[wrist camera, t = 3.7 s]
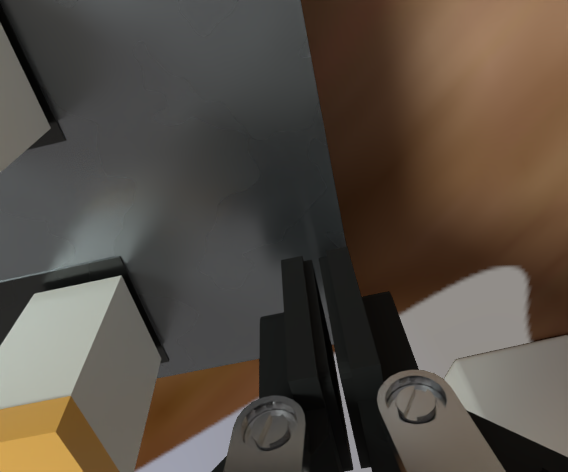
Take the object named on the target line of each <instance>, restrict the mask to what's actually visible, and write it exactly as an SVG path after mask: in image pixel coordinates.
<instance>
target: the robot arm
mask: <svg viewBox="0 0 568 472" xmlns="http://www.w3.org/2000/svg"><path fill="white" fill-rule="evenodd" d="M326 254H327V256H326V257H321V258H319V264H320V270H321V275H322V281H323V286H324V292H325V297H326V303H327V308H328V314H329V319H330V325H331V330H332V336H333V341H334V347H335V353H336V357H337V363H338V368H339V373H340V378H341V383H342V387H343V391H344V396H345V400H346V404H347V409H348V413H349V417H350V422H351V426H352V430H353V435H354V439H355V443H356V448H357V452H358V456H359V461H360V465H361V468H367V467H371V468H372V472H568V457H567V456H564V455H562V454H560V453H558V452H556V451H554V450H551V449H549V448H547V447H545V446H543V445H541V444H539V443H536V442H534V441H532V440H530V439H528V438H526V437H523V436H521V435H519V434H517V433H515V432H513V431H510V430H508V429H506V428H504V427H502V426H500V425H498V424H495V423H493V422H491V421H489V420H487V419H485V418H482V417H480V416H478V415H476V414H474V413H472V412H469V411H467V410H466V409H465V408H464V406H463V405H462V403H461V401H460V400H459V398H458V397H457V395H456V394H455V392H454V391H453V389H452V388H451V386H450V385H449V384H448V383H447V382H446V381H445V380H444V379H443V378H441V377H439V376H438V375H436V374H434V373H430V372H427V371H424V370H419V369H418V366H417V363H416V361H415V358H414V355H413V353H412V350H411V347H410V345H409V342H408V339H407V336H406V334H405V331H404V328H403V326H402V323H401V320H400V317H399V315H398V312H397V309H396V307H395V304H394V301H393V298H392V296H391V294H390V292H389V291H388V292H383V293H378V294H373V295H368V296H363V297H361V294H360V290H359V287H358V283H357V280H356V276H355V273H354V269H353V266H352V262H351V258H350V255H349V251H348V248H347V246H346V247H341V248H336V249H332V250H327V251H326ZM281 272H282V288H283V305H284V312H283V313H278V314H273V315H268V316H263V317H261V318H260V358H259V399H258V400H256V401H254V402H252V403H251V404H249V405H248V406H247V407H246V408H244V409H243V411H242V412H241V413H240V415H239V416H238V417H237V420H236V422H235V424H234V427H233V431H232V436H231V440H230V445H229V449H228V453H227V456H226V457H225V458H224V459H223V460H222V461H221V462H220V463H219V465H217V467H215V469H214V470H213V471H212V472H344V471H350V470H353V464H352V459H351V453H350V447H349V441H348V436H347V430H346V424H345V418H344V413H343V407H342V401H341V396H340V390H339V384H338V379H337V372H336V367H335V361H334V355H333V350H332V345H331V340H330V336H329V331H328V327H327V323H326V318H325V314H324V310H323V305H322V301H321V297H320V293H319V288H318V284H317V280H316V275H315V271H314V267H313V262H312V260H307V261H304V260H303V256H298V257H293V258H288V259H283V260H281Z"/></svg>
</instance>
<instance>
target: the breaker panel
mask: <svg viewBox="0 0 568 472" xmlns="http://www.w3.org/2000/svg"><path fill="white" fill-rule="evenodd" d="M0 23H1V25H2V27H3V29H4V31H5V33H6V35H7V38H8V40H9V42H10V44H11V46H12V48H13V50H14V52H15V54H16V56H17V58H18V60H19V63H20V65H21V67H22V69H23V71H24V73H25V75H26V77H27V79H28V81H29V83H30V86H31V88H32V90H33V92H34V94H35V96H36V98H37V100H38V102H39V104H40V106H41V108H42V111H43V113H44V115H45V117H46V119H47V121H48V123H49V125H50V127H51V129H50V130H48V131H47V132H46V133H45V134H44V135H43V136H42V137H40V138H39V139H38V140H37V141H36V142H35V143H34V144H32V145H31V146H30V147H29V148H28V149H27V150H26V151H24V152H23V153H22V154H21V155H20V156H19V157H18V158H16V159H15V160H14V161H13V162H12V163H11V164H10V165H8V166H7V167H6V168H5V169H4V170H3V171H2V172H0V345H1V344H2V342H3V341H4V339H5V338H6V336H7V335H8V333H9V332H10V330H11V329H12V327H13V326H14V324H15V322H16V321H17V319H18V318H19V316H20V315H21V313H22V312H23V310H24V309H25V307H26V306H27V304H28V302H29V301H30V299H31V298H32V296H33V295H34V294H35V293H40V292H45V291H50V290H54V289H59V288H64V287H69V286H73V285H78V284H83V283H88V282H92V281H97V280H102V279H107V278H111V277H116V276H121V275H122V277H123V280H124V282H125V284H126V286H127V288H128V290H129V292H130V294H131V296H132V298H133V300H134V302H135V305H136V307H137V309H138V311H139V313H140V315H141V317H142V319H143V321H144V323H145V325H146V328H147V330H148V332H149V334H150V336H151V338H152V340H153V342H154V344H155V346H156V348H157V350H158V353H159V355H160V357H161V362H160V366H159V370H158V374H157V378H161V377H166V376H171V375H176V374H182V373H187V372H192V371H197V370H202V369H208V368H213V367H218V366H223V365H228V364H234V363H239V362H244V361H249V360H254V359H259V358H260V318H261V317H263V316H268V315H273V314H278V313H283V312H284V305H283V288H282V272H281V260H283V259H288V258H293V257H298V256H303V260H304V261H307V260H312V262H313V267H314V271H315V275H316V280H317V284H318V288H319V293H320V297H321V301H322V305H323V310H324V314H325V318H326V323H327V327H328V331H329V336H330V340H331V345H332V344H334V341H333V336H332V330H331V325H330V319H329V314H328V308H327V303H326V297H325V292H324V286H323V281H322V275H321V270H320V264H319V258H321V257H326V256H327V254H326V251H327V250H332V249H336V248H341V247H346V242H345V237H344V231H343V226H342V221H341V215H340V210H339V204H338V199H337V194H336V188H335V183H334V178H333V172H332V167H331V162H330V156H329V151H328V145H327V140H326V135H325V129H324V124H323V119H322V113H321V108H320V103H319V97H318V92H317V86H316V81H315V76H314V70H313V65H312V60H311V54H310V49H309V44H308V38H307V33H306V27H305V22H304V17H303V11H302V6H301V1H300V0H0Z"/></svg>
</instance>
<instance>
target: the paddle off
mask: <svg viewBox="0 0 568 472" xmlns="http://www.w3.org/2000/svg"><path fill="white" fill-rule="evenodd" d="M50 129H51V127H50V125H49V123H48V121H47V119H46V117H45V115H44V113H43V111H42V108H41V106H40V104H39V102H38V100H37V98H36V96H35V94H34V92H33V90H32V88H31V86H30V83H29V81H28V79H27V77H26V75H25V73H24V71H23V69H22V67H21V65H20V63H19V60H18V58H17V56H16V54H15V52H14V50H13V48H12V46H11V44H10V42H9V40H8V38H7V35H6V33H5V31H4V29H3V27H2V25H1V23H0V172H2V171H3V170H4V169H5V168H6V167H7V166H8V165H10V164H11V163H12V162H13V161H14V160H15V159H16V158H18V157H19V156H20V155H21V154H22V153H23V152H24V151H26V150H27V149H28V148H29V147H30V146H31V145H32V144H34V143H35V142H36V141H37V140H38V139H39V138H40V137H42V136H43V135H44V134H45V133H46V132H47V131H48V130H50Z"/></svg>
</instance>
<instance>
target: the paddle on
mask: <svg viewBox="0 0 568 472" xmlns="http://www.w3.org/2000/svg"><path fill="white" fill-rule="evenodd" d="M160 362H161V357H160V355H159V353H158V350H157V348H156V346H155V344H154V342H153V340H152V338H151V336H150V334H149V332H148V330H147V328H146V325H145V323H144V321H143V319H142V317H141V315H140V313H139V311H138V309H137V307H136V305H135V302H134V300H133V298H132V296H131V294H130V292H129V290H128V288H127V286H126V284H125V282H124V280H123V277H122V275H121V276H116V277H111V278H107V279H102V280H97V281H92V282H88V283H83V284H78V285H73V286H69V287H64V288H59V289H54V290H50V291H45V292H40V293H35V294H34V295H33V296H32V298H31V299H30V301H29V302H28V304H27V306H26V307H25V309H24V310H23V312H22V313H21V315H20V316H19V318H18V319H17V321H16V322H15V324H14V326H13V327H12V329H11V330H10V332H9V333H8V335H7V336H6V338H5V339H4V341H3V342H2V344H1V345H0V472H134V469H135V465H136V461H137V457H138V453H139V448H140V444H141V440H142V436H143V432H144V428H145V424H146V420H147V415H148V411H149V407H150V403H151V399H152V395H153V391H154V387H155V383H156V378H157V374H158V370H159V366H160Z"/></svg>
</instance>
